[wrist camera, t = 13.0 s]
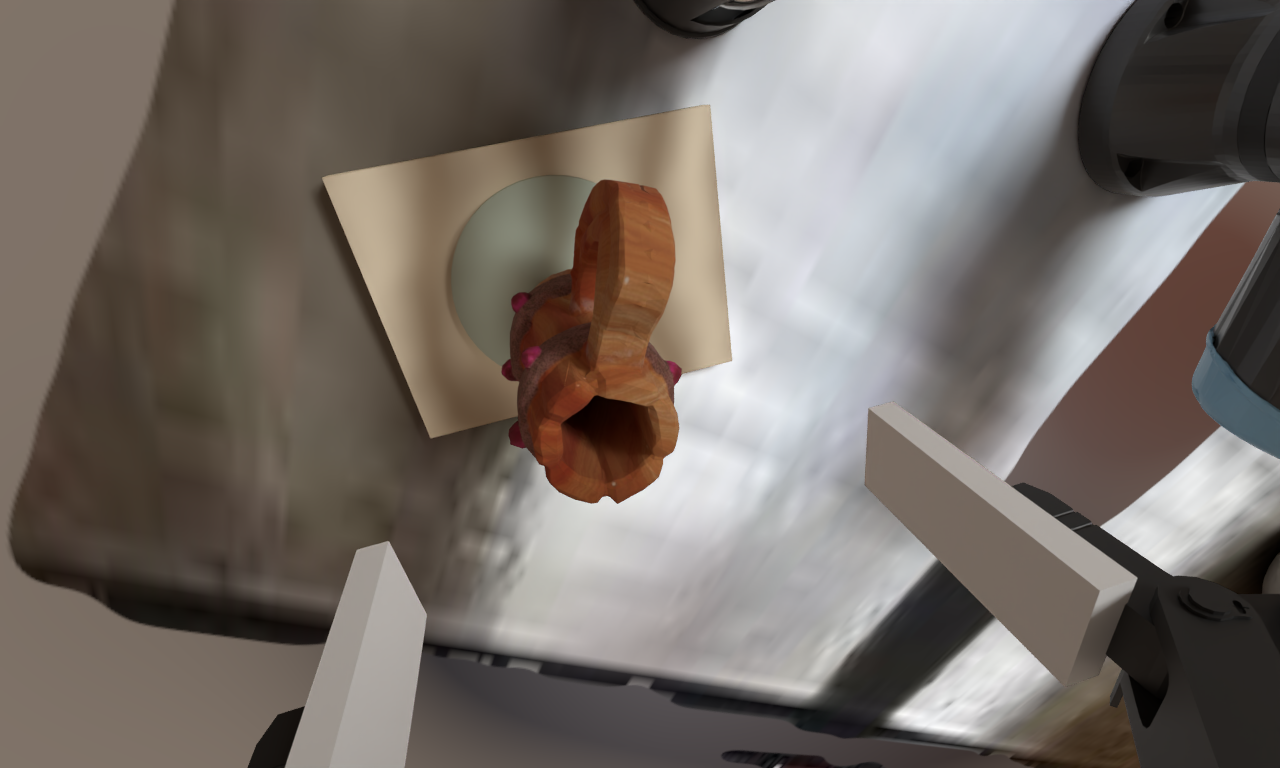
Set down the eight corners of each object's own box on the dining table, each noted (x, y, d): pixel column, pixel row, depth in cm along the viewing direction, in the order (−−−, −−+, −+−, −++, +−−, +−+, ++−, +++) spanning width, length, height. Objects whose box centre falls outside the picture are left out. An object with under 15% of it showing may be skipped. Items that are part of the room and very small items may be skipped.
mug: (616, 396, 38) (679, 544, 25) (496, 386, 35) (496, 544, 22) (662, 178, 32) (777, 221, 19) (524, 148, 30) (546, 173, 17)
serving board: (701, 105, 33) (714, 104, 31) (724, 353, 41) (736, 365, 39) (329, 175, 30) (317, 179, 28) (432, 427, 38) (429, 444, 36)
